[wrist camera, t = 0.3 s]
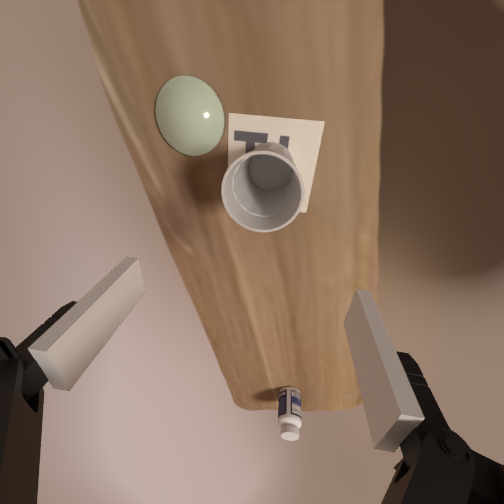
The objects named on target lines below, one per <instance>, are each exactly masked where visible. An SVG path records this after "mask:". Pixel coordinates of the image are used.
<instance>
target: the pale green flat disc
mask: <svg viewBox="0 0 504 504" xmlns="http://www.w3.org/2000/svg"><path fill="white" fill-rule="evenodd" d="M155 111H156V120H157V124H158V127H159V129H160V131H161V133H162V135H163V137H164V138H165V140H166V141H167V142H168V143H169V144H170V145H171V146H172V147H173V148H174V149H175V150H177V151H179V152H181V153H183V154H186V155H190V156H199V155H203V154H206V153H208V152H209V151H211V150H212V149H213V148H215V147H216V145H217V144H218V143H219V141H220V140H221V137H222V135H223V132H224V127H225V115H224V110H223V106H222V104H221V101H220V99H219V97H218V95H217V94H216V92H215V91H214V90H213V89H212V88H211V87H210V86H209V85H208V84H207V83H206V82H204V81H203V80H201V79H199V78H196V77H193V76H177V77H174V78H172V79H171V80H169V81H168V82H166V83H165V84H164V86H163V87H162V88H161V90H160V92H159V94H158V97H157V100H156V109H155Z"/></svg>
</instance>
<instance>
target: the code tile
mask: <svg viewBox="0 0 504 504" xmlns="http://www.w3.org/2000/svg"><path fill="white" fill-rule="evenodd" d="M324 123H325V122H323V121H312V120H301V119H290V118H279V117H268V116H257V115H245V114H234V113H229V130H228V168H229V166H230V165H231V164H232V163H233V162H234V161H235V160H236V159H237V158H239V157H240V156H242V155H244V154H246V153H248V152H250V151H252V150H254V149H255V148H256V147H258V146H259V145H261V144H263V143H267V142H276V143H279V144H281V145H283V146H285V147H286V148H287V149H288V150H289V152H290V153H291V155H292V157H293V161H294V163H295V166H296V167H297V169H298V171H299V173H300V175H301V177H302V180H303V184H304V201H303V204H302V207H301V209H300V211H299V212H305V213H306V211H307V206H308V201H309V196H310V192H311V187H312V182H313V177H314V172H315V167H316V162H317V157H318V152H319V148H320V143H321V138H322V133H323V128H324Z"/></svg>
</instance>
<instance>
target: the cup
mask: <svg viewBox="0 0 504 504" xmlns="http://www.w3.org/2000/svg"><path fill="white" fill-rule="evenodd" d="M221 195H222V201H223V204H224V206H225V209H226V211H227V212H228V214H229V215H230V216H231V218H232V219H233V220H234V221H235V222H236V223H238V224H239V225H241V226H242V227H244V228H246V229H249V230H251V231H256V232H272V231H276V230H279V229H281V228H283V227H285V226H286V225H288V224H289V223H290V222H292V221H293V220H294V219H295V217H296V216H297V215H298V213H299V211H300V209H301V207H302V204H303V201H304V184H303V180H302V177H301V175H300V173H299V171H298V169H297V167H296V166H295V163H294V161H293V157H292V155H291V153H290V152H289V150H288V149H287V148H286V147H285V146H283V145H281V144H279V143H276V142H267V143H263V144H261V145H259V146H258V147H256V148H255V149H254V150H252V151H250V152H248V153H246V154H244V155H242V156H240V157H239V158H237V159H236V160H235V161H234V162H233V163H232V164H231V165H230V166H229V168H228V169H227V171H226V173H225V175H224V177H223V180H222V186H221Z"/></svg>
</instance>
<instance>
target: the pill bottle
mask: <svg viewBox="0 0 504 504" xmlns="http://www.w3.org/2000/svg"><path fill="white" fill-rule="evenodd" d="M278 422H279V425H280V426H281V437H282V438H283V439H285V440H289V441H295V440H298V439H299V428H300V427H301V425H302V416H301V393H300V391H299V390H298V389H296V388H294V387H283V388H281V389H280V391H279V408H278Z"/></svg>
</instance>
